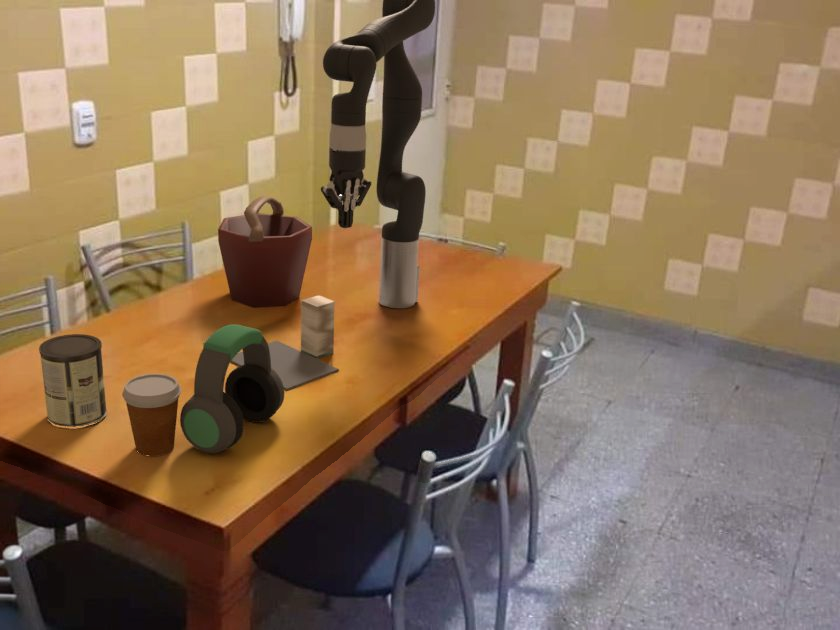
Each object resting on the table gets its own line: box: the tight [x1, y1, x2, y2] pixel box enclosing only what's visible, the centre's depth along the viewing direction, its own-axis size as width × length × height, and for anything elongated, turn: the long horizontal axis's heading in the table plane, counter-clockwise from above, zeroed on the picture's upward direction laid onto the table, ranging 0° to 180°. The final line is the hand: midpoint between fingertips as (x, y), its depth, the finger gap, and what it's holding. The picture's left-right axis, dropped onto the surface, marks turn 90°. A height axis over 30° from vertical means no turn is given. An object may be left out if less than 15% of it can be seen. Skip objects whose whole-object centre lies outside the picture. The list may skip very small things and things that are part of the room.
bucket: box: [217, 196, 313, 309], centre depth 221 cm, size 24×22×25 cm
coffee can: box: [38, 333, 108, 427], centre depth 160 cm, size 10×10×14 cm
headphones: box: [179, 323, 285, 454], centre depth 156 cm, size 19×11×20 cm, turn 156°
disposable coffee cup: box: [121, 373, 182, 457], centre depth 151 cm, size 10×10×12 cm
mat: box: [230, 340, 339, 391], centre depth 187 cm, size 14×20×1 cm
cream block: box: [300, 295, 336, 360], centre depth 192 cm, size 5×5×12 cm
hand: (345, 227), depth 190 cm, fingers closed
